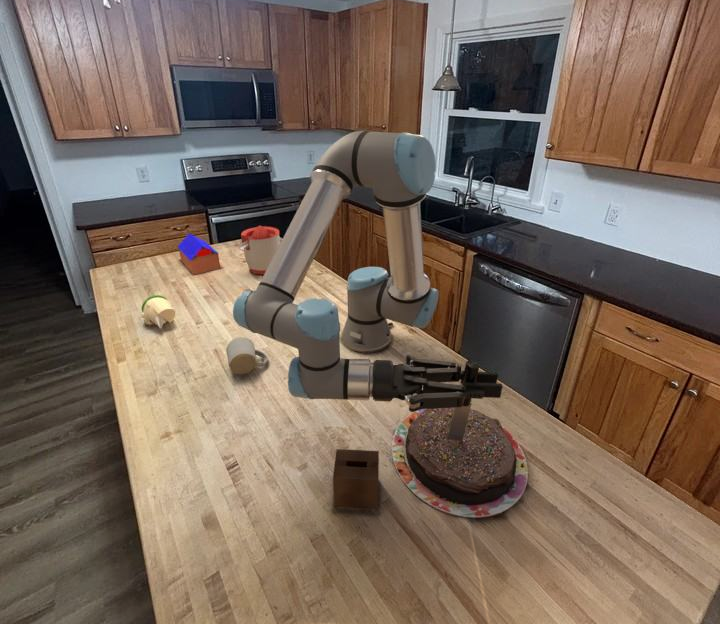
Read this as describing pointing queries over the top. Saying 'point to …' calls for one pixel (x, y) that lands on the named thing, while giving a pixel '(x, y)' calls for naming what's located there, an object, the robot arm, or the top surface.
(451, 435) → the knife
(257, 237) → the citrus juicer
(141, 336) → the top surface
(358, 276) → the robot arm
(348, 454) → the knife block
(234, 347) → the ceramic mug
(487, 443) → the chocolate cake
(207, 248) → the house
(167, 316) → the cartoon head
